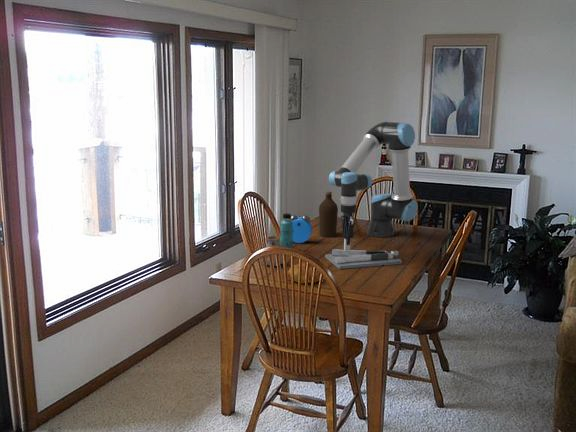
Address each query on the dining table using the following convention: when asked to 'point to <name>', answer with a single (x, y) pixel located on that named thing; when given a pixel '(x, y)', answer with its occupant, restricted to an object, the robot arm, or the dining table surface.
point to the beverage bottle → (286, 231)
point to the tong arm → (354, 252)
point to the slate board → (362, 262)
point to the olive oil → (328, 217)
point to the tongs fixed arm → (367, 257)
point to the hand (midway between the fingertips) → (347, 250)
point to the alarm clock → (301, 228)
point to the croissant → (302, 273)
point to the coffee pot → (273, 242)
